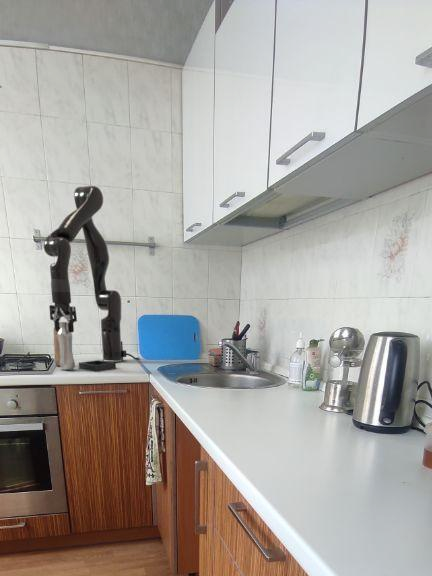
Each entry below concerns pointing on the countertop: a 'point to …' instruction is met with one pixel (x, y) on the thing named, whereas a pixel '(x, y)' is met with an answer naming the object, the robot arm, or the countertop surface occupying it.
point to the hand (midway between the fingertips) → (64, 331)
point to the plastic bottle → (65, 347)
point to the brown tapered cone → (56, 348)
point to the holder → (97, 365)
